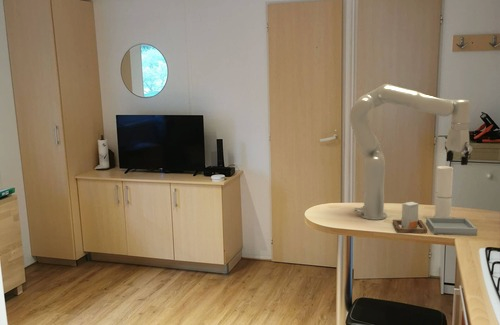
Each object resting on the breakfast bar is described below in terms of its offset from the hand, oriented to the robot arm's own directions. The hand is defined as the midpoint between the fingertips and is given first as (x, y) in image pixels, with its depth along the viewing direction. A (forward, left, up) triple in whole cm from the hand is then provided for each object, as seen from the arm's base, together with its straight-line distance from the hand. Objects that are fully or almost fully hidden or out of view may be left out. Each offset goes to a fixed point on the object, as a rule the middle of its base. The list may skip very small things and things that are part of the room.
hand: (456, 162), depth 223 cm
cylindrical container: (-4, +5, -28) cm, 29 cm away
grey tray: (-5, -13, -28) cm, 31 cm away
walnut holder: (-23, -13, -28) cm, 38 cm away
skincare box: (-23, -13, -29) cm, 39 cm away
